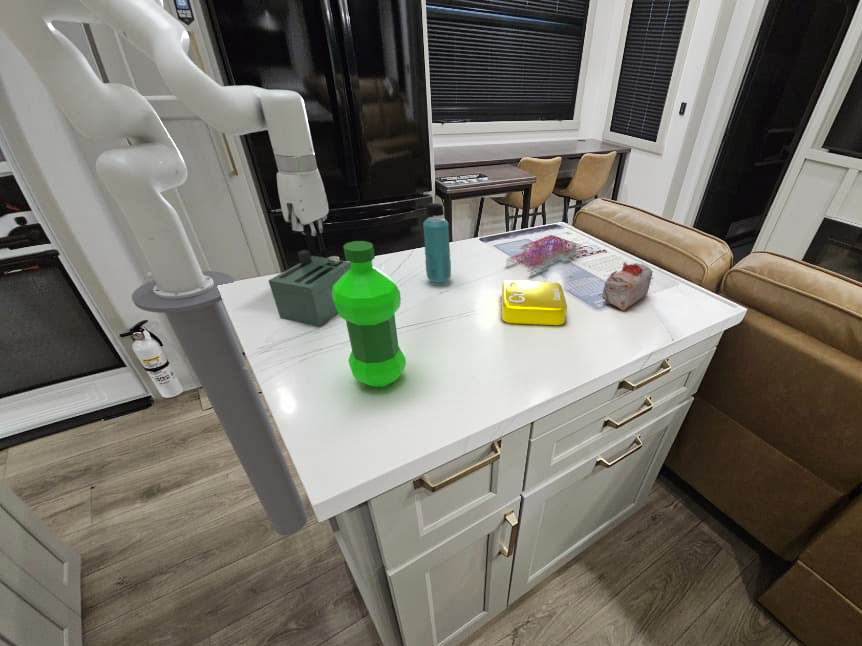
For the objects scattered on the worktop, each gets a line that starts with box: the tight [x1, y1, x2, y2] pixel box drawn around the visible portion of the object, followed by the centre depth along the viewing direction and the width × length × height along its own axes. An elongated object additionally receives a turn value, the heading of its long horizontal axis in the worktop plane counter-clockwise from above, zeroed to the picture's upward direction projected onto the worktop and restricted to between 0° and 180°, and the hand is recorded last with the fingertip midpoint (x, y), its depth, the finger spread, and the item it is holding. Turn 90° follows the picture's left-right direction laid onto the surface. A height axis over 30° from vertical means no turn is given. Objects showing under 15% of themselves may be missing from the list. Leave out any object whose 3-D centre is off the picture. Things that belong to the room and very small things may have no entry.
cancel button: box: [327, 255, 340, 267], centre depth 95 cm, size 2×2×2 cm
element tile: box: [501, 279, 568, 326], centre depth 101 cm, size 15×15×5 cm
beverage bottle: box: [422, 202, 452, 283], centre depth 105 cm, size 6×7×20 cm
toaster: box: [268, 255, 351, 327], centre depth 94 cm, size 10×15×9 cm, turn 166°
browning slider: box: [297, 249, 312, 265], centre depth 93 cm, size 2×2×2 cm
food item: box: [601, 261, 654, 311], centre depth 107 cm, size 14×8×10 cm, turn 140°
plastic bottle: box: [331, 240, 407, 388], centre depth 70 cm, size 10×10×25 cm
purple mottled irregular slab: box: [505, 234, 583, 278], centre depth 128 cm, size 30×15×5 cm, turn 140°
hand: (317, 250), depth 97 cm, fingers closed
